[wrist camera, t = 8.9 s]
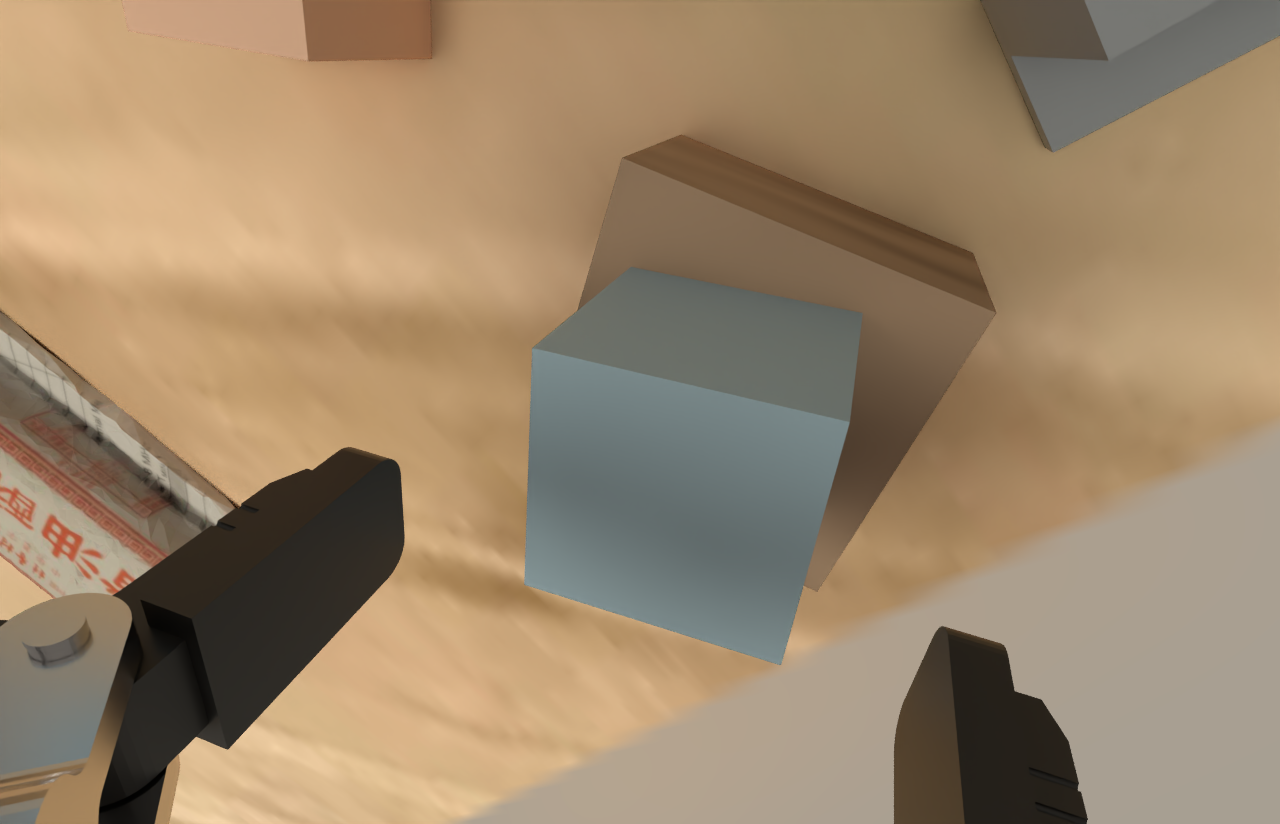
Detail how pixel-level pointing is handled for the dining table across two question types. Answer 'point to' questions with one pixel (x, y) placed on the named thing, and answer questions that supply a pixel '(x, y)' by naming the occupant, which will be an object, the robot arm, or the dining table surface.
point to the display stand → (1117, 53)
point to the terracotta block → (293, 26)
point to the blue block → (687, 454)
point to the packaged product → (85, 480)
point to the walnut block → (808, 292)
